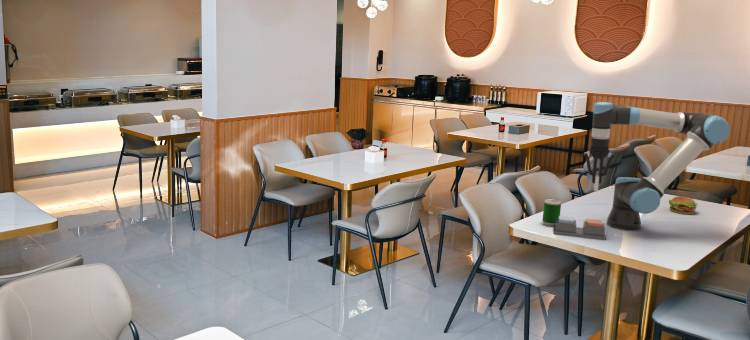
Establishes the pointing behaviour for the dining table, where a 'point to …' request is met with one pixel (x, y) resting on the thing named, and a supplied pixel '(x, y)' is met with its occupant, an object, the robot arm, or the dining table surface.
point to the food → (682, 205)
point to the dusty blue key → (566, 220)
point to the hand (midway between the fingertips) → (595, 190)
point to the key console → (579, 230)
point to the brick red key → (594, 223)
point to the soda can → (551, 211)
